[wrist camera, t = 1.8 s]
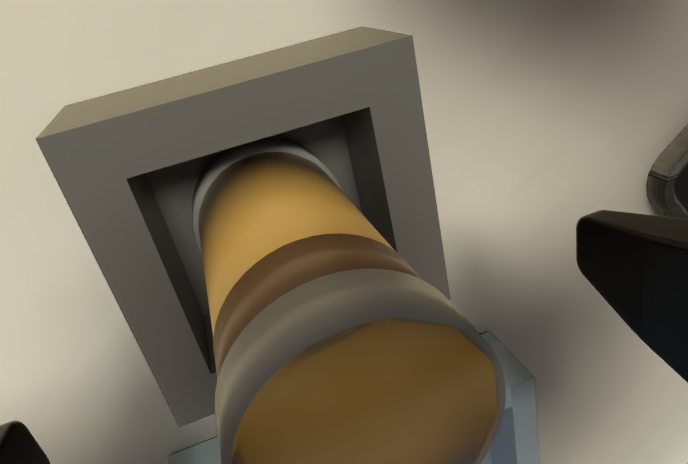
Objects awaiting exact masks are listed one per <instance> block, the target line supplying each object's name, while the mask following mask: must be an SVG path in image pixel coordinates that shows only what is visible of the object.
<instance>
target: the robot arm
mask: <svg viewBox="0 0 688 464" xmlns="http://www.w3.org/2000/svg"><path fill="white" fill-rule="evenodd" d="M576 257H577V264H578V267H579V269H580V271H581V272H582V274H583V275H584V276H585V277H586V278H587V280H588V281H589V282H590V283H591V284H592V285H593V286H594V287H595V289H596V290H597V291H598V292H599V293H600V294H601V295H602V296H603V298H604V299H605V300H606V301H607V302H608V303H609V304H610V305H611V307H612V308H613V309H614V310H615V311H616V312H617V313H618V314H619V316H620V317H621V318H622V319H623V320H624V321H625V322H626V323H627V325H628V326H629V327H630V328H631V329H632V330H633V331H634V332H635V333H636V334H637V335H638V336H639V337H640V339H641V340H643V341H644V342H645V343H646V344H647V345H648V346H649V347H650V348H651V349H652V350H653V351H654V352H655V353H656V354H657V355H658V356H659V357H660V358H662V359H663V360H664V361H665V362H666V363H667V364H668V365H669V366H670V367H671V368H672V369H673V370H675V371H676V372H677V373H678V374H679V375H680V376H681V377H682V378H683V379H684V380H685V381H687V382H688V219H680V218H671V217H662V216H653V215H644V214H635V213H625V212H616V211H607V210H601V211H597V212H594V213H591V214H589V215H586V216H583V217H581V218H580V219H579V220H578V222H577V225H576ZM0 464H50V462H49V460H48V458H47V456H46V455H45V453H44V452H43V450H42V449H41V447H40V446H39V444H38V443H37V442H36V440H35V439H34V437H33V436H32V434H31V433H30V431H29V430H28V428H27V427H26V426H25V425H24V424H23V423H22V422H19V421H11V422H9V423H6V424H3V425H0Z"/></svg>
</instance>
